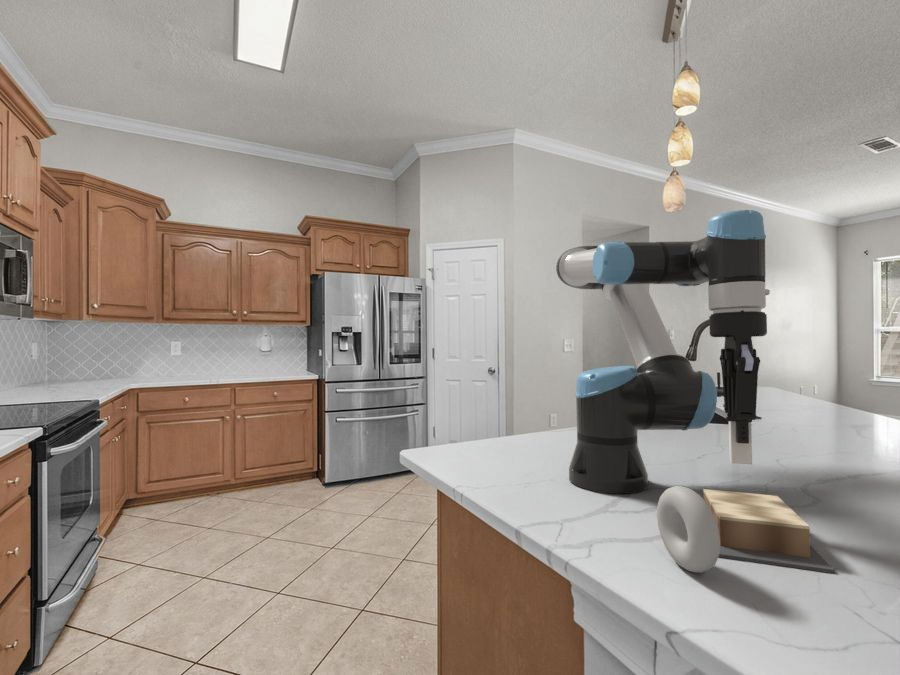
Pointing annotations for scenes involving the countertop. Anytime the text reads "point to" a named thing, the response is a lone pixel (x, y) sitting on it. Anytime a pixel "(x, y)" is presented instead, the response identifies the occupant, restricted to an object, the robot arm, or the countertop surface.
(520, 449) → the countertop surface
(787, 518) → the slab
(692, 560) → the donut
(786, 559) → the mat
